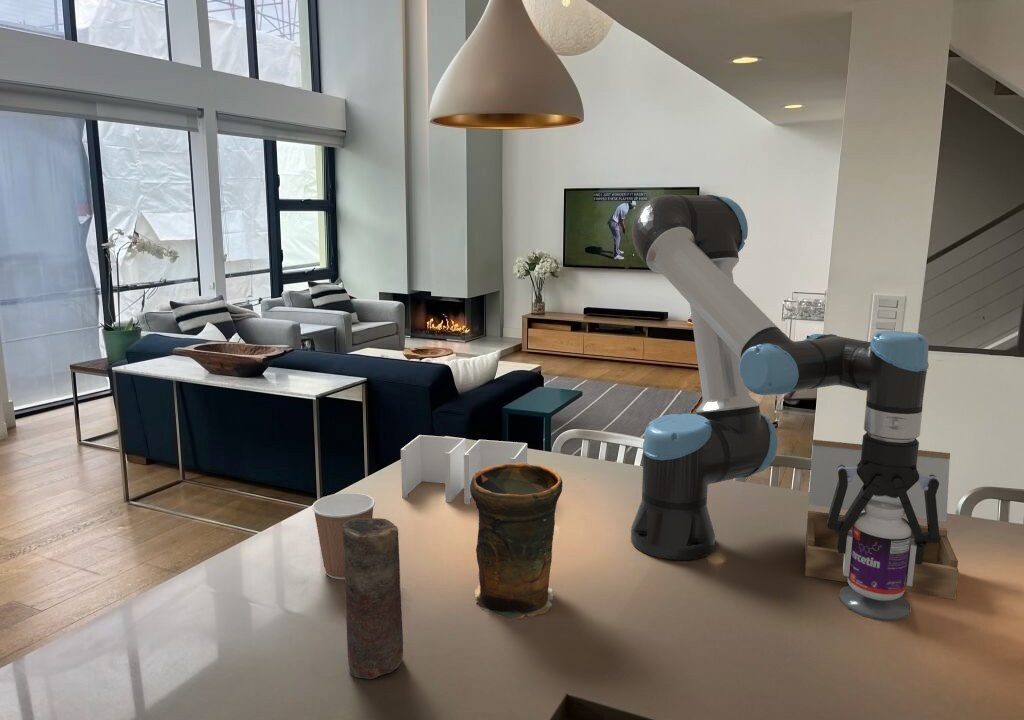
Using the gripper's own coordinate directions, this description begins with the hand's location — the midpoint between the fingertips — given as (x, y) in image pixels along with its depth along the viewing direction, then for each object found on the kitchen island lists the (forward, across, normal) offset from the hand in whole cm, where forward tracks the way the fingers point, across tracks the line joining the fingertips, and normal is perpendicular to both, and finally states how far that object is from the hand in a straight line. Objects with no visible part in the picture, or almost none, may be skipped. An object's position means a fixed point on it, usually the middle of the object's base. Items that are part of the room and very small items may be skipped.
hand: (876, 576), depth 116 cm
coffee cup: (+5, -83, -20) cm, 86 cm away
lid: (-9, +1, +20) cm, 22 cm away
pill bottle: (+3, 0, 0) cm, 3 cm away
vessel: (+5, -53, -18) cm, 56 cm away
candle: (+5, -64, -42) cm, 77 cm away
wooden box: (+4, +1, +12) cm, 13 cm away
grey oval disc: (+4, 0, 0) cm, 4 cm away
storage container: (+5, -79, +20) cm, 82 cm away
